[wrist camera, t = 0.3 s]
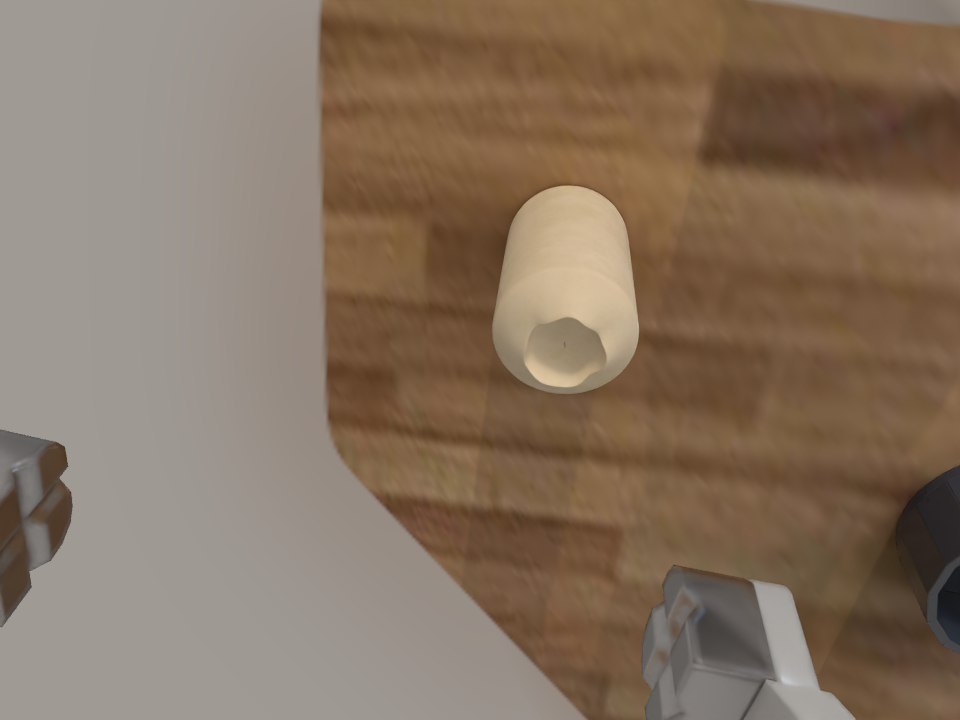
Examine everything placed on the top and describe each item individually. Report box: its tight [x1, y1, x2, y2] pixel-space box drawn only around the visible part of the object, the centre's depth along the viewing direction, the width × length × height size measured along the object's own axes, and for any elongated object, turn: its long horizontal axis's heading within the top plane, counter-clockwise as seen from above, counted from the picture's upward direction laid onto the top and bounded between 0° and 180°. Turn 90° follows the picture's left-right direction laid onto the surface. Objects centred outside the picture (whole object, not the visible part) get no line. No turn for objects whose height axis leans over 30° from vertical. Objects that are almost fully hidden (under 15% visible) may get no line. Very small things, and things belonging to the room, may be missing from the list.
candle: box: [492, 186, 639, 394], centre depth 35 cm, size 6×6×10 cm
